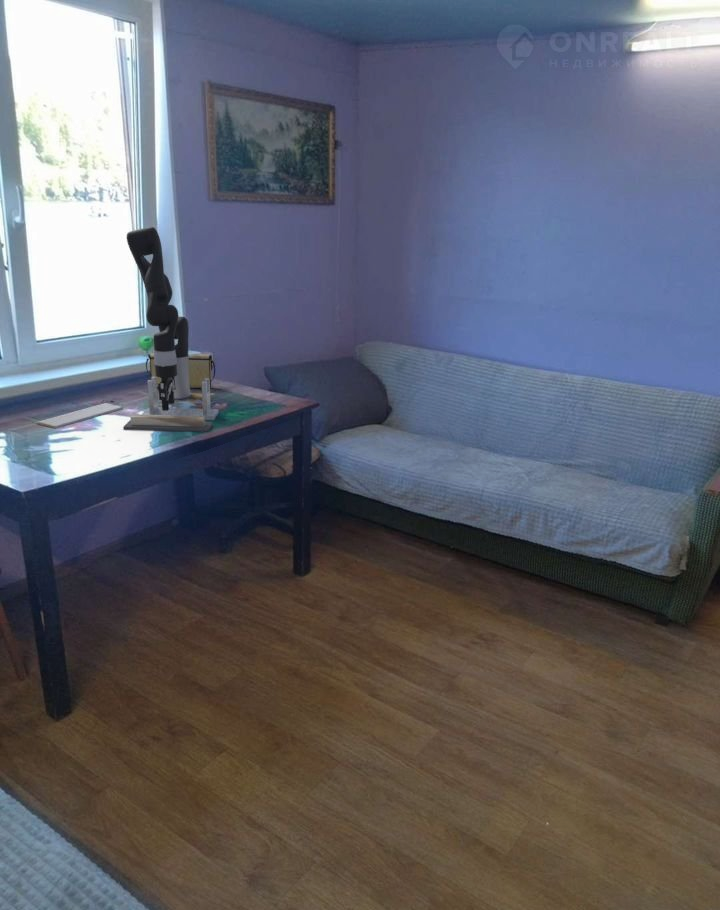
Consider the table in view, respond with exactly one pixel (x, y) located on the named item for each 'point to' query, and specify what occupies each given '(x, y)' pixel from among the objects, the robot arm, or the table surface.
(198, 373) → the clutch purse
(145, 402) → the table surface
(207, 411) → the hook rack
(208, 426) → the rubber mat
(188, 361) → the robot arm
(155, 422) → the birch rail
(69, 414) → the baseboard molding
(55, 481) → the table surface
